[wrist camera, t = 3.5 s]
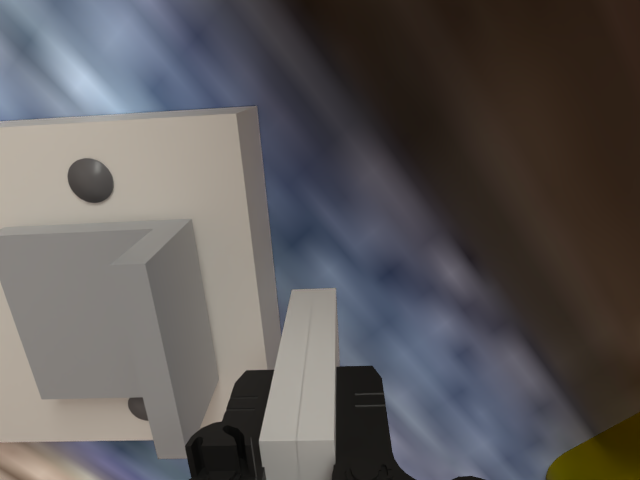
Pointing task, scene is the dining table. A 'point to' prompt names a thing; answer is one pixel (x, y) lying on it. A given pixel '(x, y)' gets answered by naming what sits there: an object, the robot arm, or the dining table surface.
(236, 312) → the socket plate
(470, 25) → the dining table surface
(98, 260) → the shutter
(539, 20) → the dining table surface
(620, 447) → the element tile
